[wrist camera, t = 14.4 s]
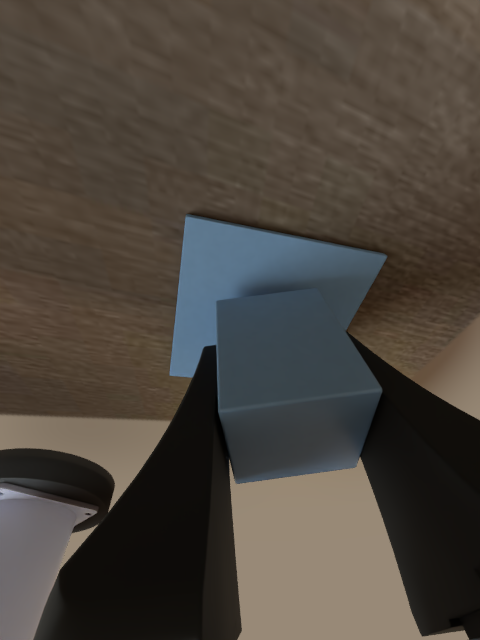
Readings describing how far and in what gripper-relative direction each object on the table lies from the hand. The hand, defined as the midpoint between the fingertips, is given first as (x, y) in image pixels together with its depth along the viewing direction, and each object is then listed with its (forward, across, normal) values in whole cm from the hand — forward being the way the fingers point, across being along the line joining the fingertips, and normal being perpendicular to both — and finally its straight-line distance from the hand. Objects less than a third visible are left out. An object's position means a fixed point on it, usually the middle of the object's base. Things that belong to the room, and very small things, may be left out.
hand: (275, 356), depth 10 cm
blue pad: (+2, 0, 0) cm, 2 cm away
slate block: (+1, 0, 0) cm, 1 cm away
